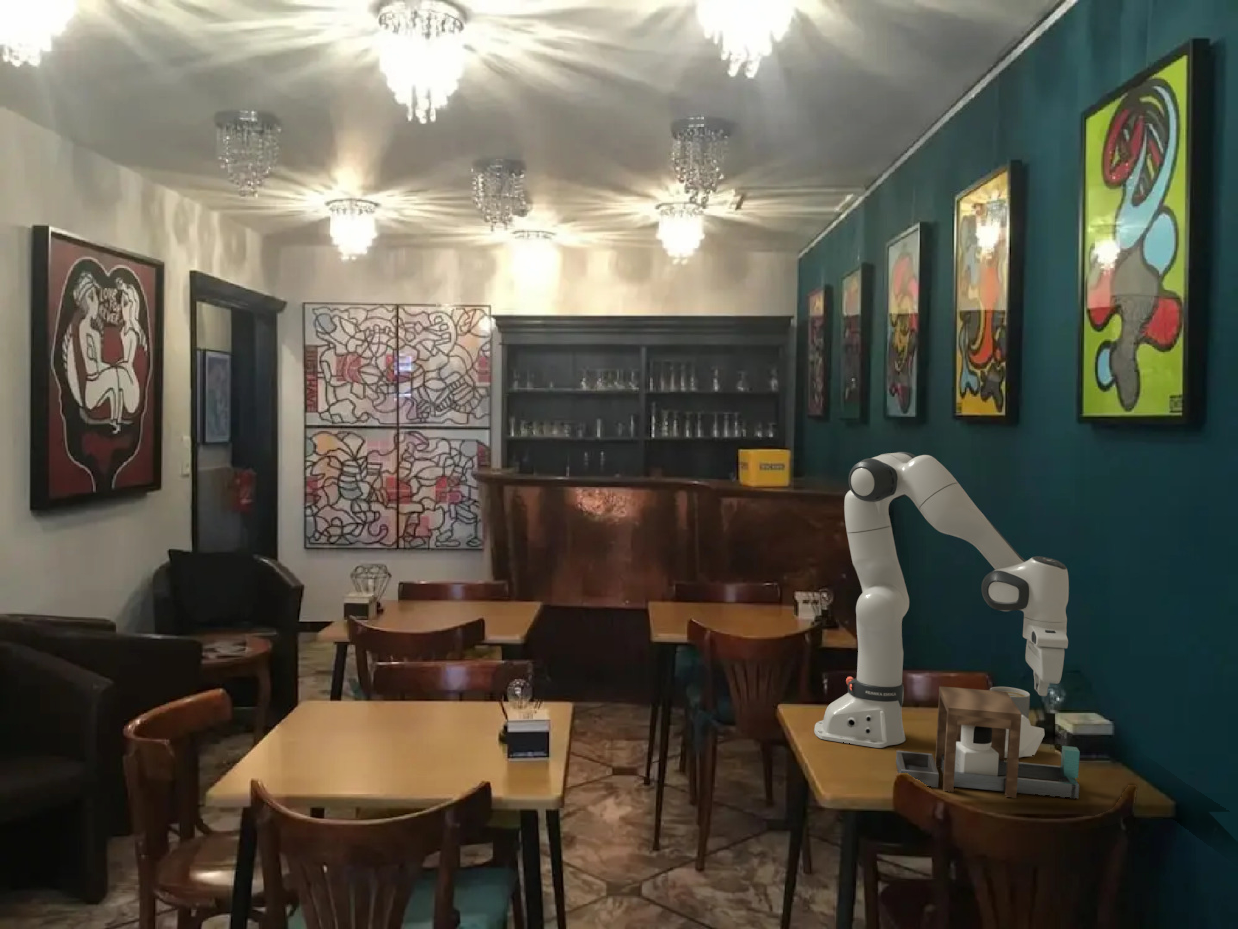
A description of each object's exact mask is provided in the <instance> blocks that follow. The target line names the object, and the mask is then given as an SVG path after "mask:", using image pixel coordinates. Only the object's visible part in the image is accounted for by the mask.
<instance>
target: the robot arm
mask: <svg viewBox="0 0 1238 929" xmlns="http://www.w3.org/2000/svg"><path fill="white" fill-rule="evenodd" d="M848 485H849V488H850V490H848V491H847V493H846V494H845V496H844V506H843V508H844V509H843V510H844V521H845V523H844V524H845V528H846V535H847V540H848V547H849V551H850V556H851V557H850V558H851V561H852V562H851V563H852V566H853V568H854V570H855V572H856V574H857V578H858V580H859V584H860V586H861V587H860V588H861V592H862V593H861V594H860V595H859V597H858V599H857V601H856V605H855V614H856V619H855V620H856V635H857V636H856V637H857V651H858V652H857V664H856V666H857V667H856V668H857V669H856V671H857V672H856V677H855V678H854V677H852V676H847V678H846V680H845V682H846V685H847V693H845V694H844V695H842V696H840V697H839V698H837V699H835V700H834V701H832V702H831V703H830V704H828V706H827V707H826V709H825V711H824V715H823V719H822V720H819V721H817V722H816V723H815V724H814V729H813V732H814V735H815V736H816V737H817V738H819V739H820V740H825V741H831V742H837V743H843V742H844V744H849V743H850V744H851V745H857V746H864V747H871V748H877V749H882V748H886V747H888V746H893V745H894V746H895V745H900V744H903V743H904V742H905V741H906V735H905V731H904V725H903V716H902V715H903V714H902V707H903V703H904V691H905V690H904V689H905V687H904V684H903V665H904V648H903V633H902V632H903V630H902V629H903V626H902V624H903V623H902V622H903V618H904V617H905V616H906V614H907V612H908V611H909V609H910V596H909V594H908V590H907V586H906V583H905V578H904V574H903V571H902V568H901V565H900V562H899V558H898V555H897V549H896V544H895V539H894V534H893V527H892V523H891V518H890V515H889V512H890V511H889V507H890V503H892V501H893V500H900V499H902V498H904V497H906V496H907V497H908V498H909V499H910V500H911V501H912V502H913V503H914V506H915V507H916V508H917V509H918V511H919V512H920V513H921V515H922V516H923V517H924V519H925V520H926V521H927V523H928V524H930V526H932V527H933V528H934V529H935V530H937V532H940V533H942V534H944V535H948V536H949V535H950V536H953V537H956V538H959V539H961V540H964V541H966V542H968V543H969V544H971V545H973V547H975V548H976V549H977V550H978V551H979V553H981V555H982V556H983V557H984V558H985V559H986V560H987V562H988V563H989V564H990V565H991V567H993V569H994V570H992V571H991V572H989V573H987V574H986V575H985V576H984V578H983V580H982V582H981V590H980V591H981V594H982V597H983V600H984V601H985V603H986V604H987V605H988V606H989V607H990V608H992V609H994V610H995V611H1002V612H1010V611H1021V612H1023V626H1022V637H1023V638H1024V639H1025V640H1026V644H1025V656H1024V658H1025V662H1026V663H1027V665H1028V666H1029V667H1030V668H1031V670H1033V679H1034V680H1033V681H1034V686H1033V687H1034V688H1033V689H1034V691H1035V692H1037V694H1038V695H1039V696H1041V697H1046V696H1048V688H1049V687H1050V686H1049V685H1050V684H1057V685H1059V684H1060V682H1061V679H1062V675H1063V669H1064V663H1065V662H1064V660H1065V649H1068V645H1069V639H1068V635H1067V623H1068V617H1067V613H1066V610H1067V606H1068V602H1069V594H1070V592H1069V591H1070V590H1069V589H1070V586H1069V582H1070V581H1069V572H1068V568H1067V567H1066V565H1065V564H1064V563H1063V562H1061V561H1059V560H1057V559H1054V558H1051V557H1046V556H1039V555H1038V556H1032V557H1031V558H1029V559H1028V560H1026V559H1024V557H1022V556H1021V555H1020V554H1019V553H1018V552H1017V551H1016V550H1015V548H1013V546H1012V545H1011V544H1010V543H1009V542H1008V541H1007V539H1005V537H1004V536H1003V535H1002V534H1001V532H1000V531H999V530H998V529H997V528H996V527H995V526H994V524H992V522H991V521H990V519H988V518H987V517H986V516H985V515H984V513H982V511H981V510H980V509H979V508H978V506H977V505H976V504H975V503H974V502H973V499H971V497H969V495H968V494H967V492H966V491H965V489H963V487H962V486H961V484H960V483H959V482H958V481H957V479H956V478H955V477H954V475H953V474H952V473H951V472H950V471H949V470H948V469H947V468H946V467H945V466H944V465H943V464H942V463H941V462H939V461H938V459H936V458H935V457H934V456H932V455H929V454H922V455H918V456H917V455H915V454H913V453H911V452H907V451H906V452H905V451H897V452H892V453H891V452H890V453H882V454H880V455H877V456H874V457H871V458H869V457H868V458H865V459H862V460H860V461H859V462H857V463H856V464H854V465H853V467H852V468H851V469H850V471H849V474H848Z"/></svg>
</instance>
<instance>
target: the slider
mask: <svg viewBox="0 0 1238 929" xmlns="http://www.w3.org/2000/svg"><path fill="white" fill-rule="evenodd" d="M1080 752H1081V751H1080V750H1079V748H1078V747H1077V746H1067V745H1062V746H1061V755H1060V756H1061V758H1060V765H1053V764H1052V765H1051V764H1041V763H1032V762H1031V763H1030V762H1021V761H1019V762H1018V779H1017V794H1028V795H1035V794H1038V795H1039V796H1045V795H1050V796H1049V797H1055V796H1060V797H1059V798H1065V797H1070V798H1069V799H1075V798H1077V799H1079V795H1080V784H1079V783H1078V781H1077V779H1079V771H1080V770H1079V768H1080V767H1079V766H1080V756H1081V755H1080ZM944 757H945V755H941V767H940V770H941V772H942V775H944ZM1006 768H1007V760H1004V761H1002V760H998V776H996V775H985V774H975V773H965V772H955V773H954V787H958V788H965V789H966V788H968V789H977V790H986V791H997V792H1005V784H1006Z"/></svg>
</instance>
